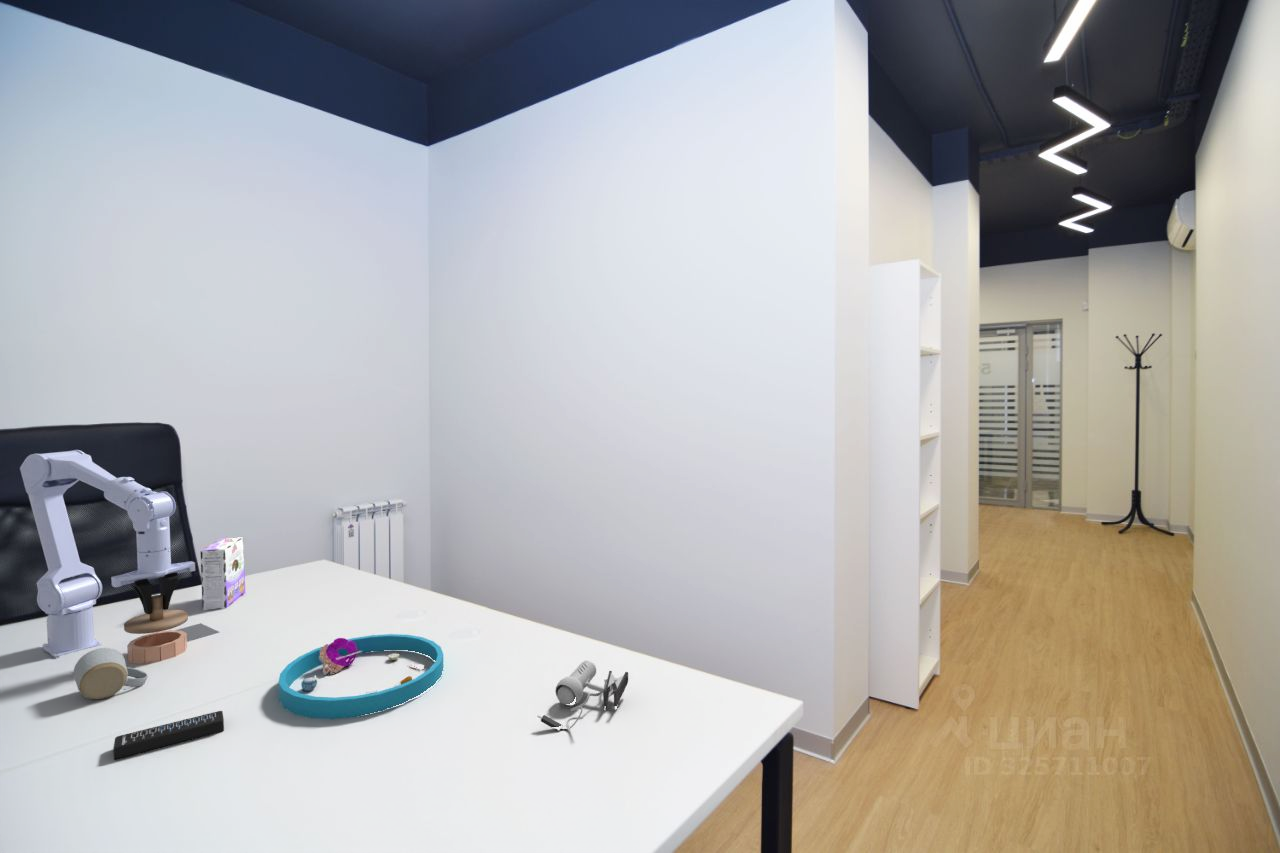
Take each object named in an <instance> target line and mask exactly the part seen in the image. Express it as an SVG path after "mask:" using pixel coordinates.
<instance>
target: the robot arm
mask: <svg viewBox="0 0 1280 853" xmlns="http://www.w3.org/2000/svg"><path fill="white" fill-rule="evenodd" d="M19 471H20V474H21V478H22V481H23V486H24V488H25V489H24V490H25V492H26V493H27V495H28V499H29V502H30V506H31V510H32V513H33V518H34V522H35V525H36V528H37V534H38V536H39V539H40V540H39V541H40V544H41V547H42V550H43V555H44V559H45V562H46V566H47V569H48V570H47V571H46V572H45V574H44V575H42V576H41V577H40V578H39V579H38V580H37V581H36V587H37V596H36V602H37V605H38V607H39V609H41V611H43V612H44V613H45V614H46V615H47V617H46V630H47V631H46V632H47V633H46V634H47V644H43V645H42V646H41V648H42V650H44V651H45V652H47V653H49V654H50V655H51V656H52V657H54V658H60V657H62V656H65V655H69V654H72V653H76V652H79V651H83V650H87V649H91V648H94V647H99V646H102V642H100V641H99V640H97V639H95V624H94V608H93V607H94V605H96V604H97V599H99V598H100V597H101V595H102V592H103V584H102V581H101V580H100V578H99V577H98V575H97V574H96V572H95V568H94V567H93V566H90V565H88V564H86V563H83V562H81V559H80V556H79V552H78V548H77V545H76V540H75V537H74V533H73V528H72V526H71V521H70V518H69V515H68V511H67V507H66V504H65V500H64V495H65V493H66V491H67V490H68V489H69V488H71V487H73V486H74V485H75V484H76V483H78V482H79V481H81V482H82V483H85V484H87V485H89V486H92V487H94V488H96V489H99V490H100V491H102V492H103V497H104V499H105V500H107V501H108V502H110V503H112V504H114V505H116V506H118V507H119V508H121V509H123V510H125V511H126V512H127V515H128V518H129V519H130V521H132V522H131V523H132V528H133V529H134V531H135V532H136V534H135V536H136V554H137V555H136V559H137V561H136V562H137V569H136V570H133V571H130V572H126V573H123V574H119V575H114V576H111V586H112V587H113V588H121V587H122V586H125V585H129V584H130V587H131V588H132V589H133V590H134V591H135V593H136V595H137V596H138V598H139V600H140V603H141V604H142V608H143V611H144V614H152V599H151V598H152V596H153V588H154V584H153V583H150V580H154V579H157V580H158V586H159V595H163V610H170V609H169V607H170V604H171V600H172V597H173V593H174V591H175V589H176V587H177V585H178V584H179V582H180V579H181V578H180V577H181V576H180V575H178V574H182V573H187V572H189V573H191V572H195V571H196V562H194V561H192V560H191V561H190V560H189V561H185V562H178V563H172V556H171V552H172V551H171V530H170V529H171V527H170V517H171V516H173V515H174V514H175V511H176V509H177V505H176V501H175V497H173V496H172V495H171V493H169V492H168V491H152V489H151V488H149V487H146V486H143V485H142V484H140V483H138V482H137V481H135V478H133V477H131V476H120V477H116V476H115V475H113V474H111V473H110V472H108V471H107V470H106V469H104V468H103V467H101V466H100V465H98V464H96V463H95V462H94V461H93V458H92V455H90V454H87V453H85V452H83V451H82V450H79V449H73V450H68V451H67V450H66V451H57V452H47V453H45V452H44V453H33V454H32V453H31V454H29V455H28V456H27V457H26V458H25V459H24V461H23V462H22V464H21V465H20V467H19ZM68 578H70V579H68ZM63 580H64V581H63Z"/></svg>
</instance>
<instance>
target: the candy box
mask: <svg viewBox="0 0 1280 853" xmlns="http://www.w3.org/2000/svg"><path fill="white" fill-rule="evenodd" d="M244 547H245V546H244V537H243V536H239V537H237V536H236V537H221V538H219V539H218V540H216V541H214V542H213V543H212V544H209V545H208V546H206V547H205V548H203V549H200V551H199V552H200V553H199V554H200V573H201V574H200V575H201V576H200V577H201V579H200V580H201V603H202V604H201V606H202V608H201V609H202V611H210V610H211V611H213V610H226V609H228V608H229V607H230V606H231V605H232V604H234V603H235V602H236V601H237V600H238V599H239V598H241V597H243V595H245V594H246V575H245V551H244V550H245V549H244Z"/></svg>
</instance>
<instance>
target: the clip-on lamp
mask: <svg viewBox="0 0 1280 853" xmlns="http://www.w3.org/2000/svg"><path fill="white" fill-rule="evenodd" d="M596 674H597V667H596V665H595V663H594V662H593V661H591V660H584V661H582V662H581V663H580V664H578V666H577V667H576V669H574V670H573V672H571V674H570V675H569V676H565V677H562V678H561V679H560V680H559V682H558V683H557V684H556V687H555V695H556V697H557V699H558V702H559V703H560V704H562V705H564V704H565V705H564V706H567V705H566V704H570V703H572V702H573V701H574V699H575V697H576V702H575V705H577V704H578V705H577V706H575V707H574V706H573V707H572V708H570V712H572V711H577V710H580V713H579V715H578V717H577V719H576V720H575V721H574V723H573V724H572V725H571V726H569V727H570V729H572V728H573V727H574V726H575V725H576V723H577V722H578V721H579V719H580V717H581V715H582V713H583V710H584V708H583V707H584V706H585V705H586V704H587V703H588V702H589V699H590V697H599V696H601V695H603V707H604V706H606V704H607V705H608V701H609V698H611V697H612V696H613V707H614V706H617V704H618V705H619V702H620V701H621V698H622V696H623V695H624V692H625V690H626V687H627V685H628V683H629V672H628V671H625V672H624V674H623V675H622V676H619V677H618V678H616V677H615V676H614V674H613V672H612V670H609V671H608V675H607V679H605V678H604V679H603V682H604V685H603V686H600V685H598V684H594V683H592V682H591V681H592V680H593V678H594V677H595V676H596ZM585 688H588V689H591V690H594V691H596V693H594V692H589V693H588V694H587V697H586V699H585V701H583V703H581V704H580V705H579V702H580V701H581V700H582V698H583V695H584V689H585ZM576 703H577V704H576ZM537 718H539V719H540V722H541V723H543V724H545V725H547V726H548V727H550V728H552V727H559V726H561V725H562V724H561V723H560V722H558V721H556V720H554V719H552V718H551V717H549V716H547V715H546V714H544V715H542V716H541V715H540V714H539V715H537Z"/></svg>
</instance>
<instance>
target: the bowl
mask: <svg viewBox="0 0 1280 853" xmlns="http://www.w3.org/2000/svg"><path fill="white" fill-rule="evenodd" d="M176 630H177V629H174V630H172V629H168V630H164V631H160V632H154V633H147V634H145V635H144V634H143V635H141V636H139V637H136V638H134V639H132V640H130V641H129V642H128V644H127V645H126V646H127V650H126V651H127V661H128V662H130V663H132V664H142V665H143V664H144V665H145V664H152V663H158V662H162V661H166V660H169V659H174V658H176V657H177V656H179V655H182V654H183V653H185V652H186V651H187V649H188V642H187V633H185V632H183V631H176Z"/></svg>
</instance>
